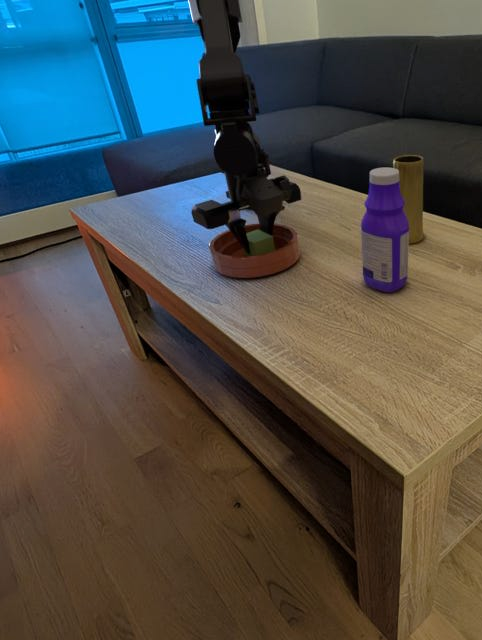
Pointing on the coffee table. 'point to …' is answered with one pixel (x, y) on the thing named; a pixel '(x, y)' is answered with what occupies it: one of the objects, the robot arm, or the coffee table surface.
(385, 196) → the bottle
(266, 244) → the sponge
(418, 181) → the vase
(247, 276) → the bowl
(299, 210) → the coffee table surface
